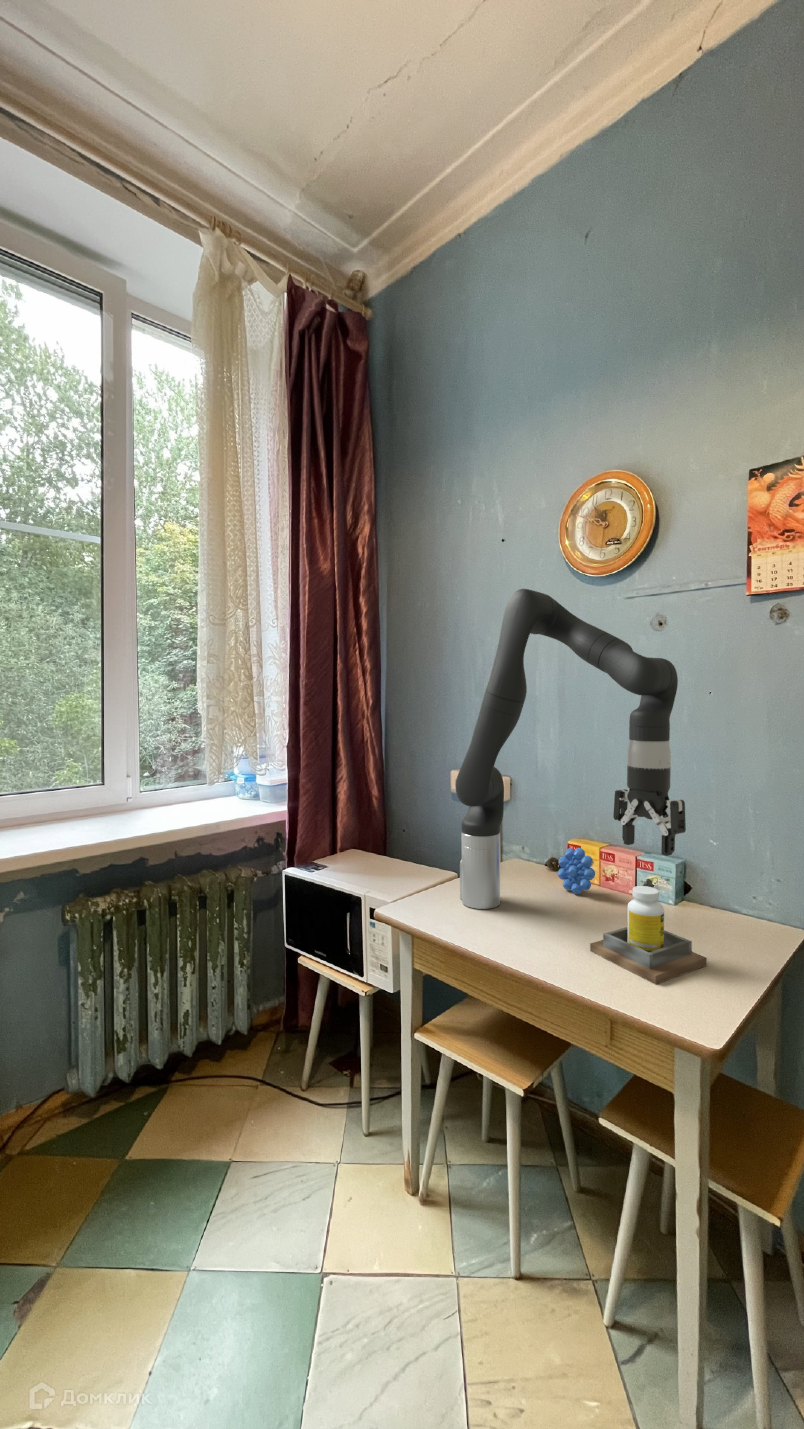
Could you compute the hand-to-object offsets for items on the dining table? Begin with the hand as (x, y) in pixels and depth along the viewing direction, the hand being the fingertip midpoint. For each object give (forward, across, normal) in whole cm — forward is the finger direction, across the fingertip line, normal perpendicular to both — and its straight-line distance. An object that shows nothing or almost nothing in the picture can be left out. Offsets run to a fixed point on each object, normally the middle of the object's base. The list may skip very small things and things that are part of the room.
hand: (647, 849), depth 111 cm
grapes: (+21, +32, -15) cm, 42 cm away
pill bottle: (+20, 0, 0) cm, 20 cm away
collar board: (+21, 0, 0) cm, 21 cm away
